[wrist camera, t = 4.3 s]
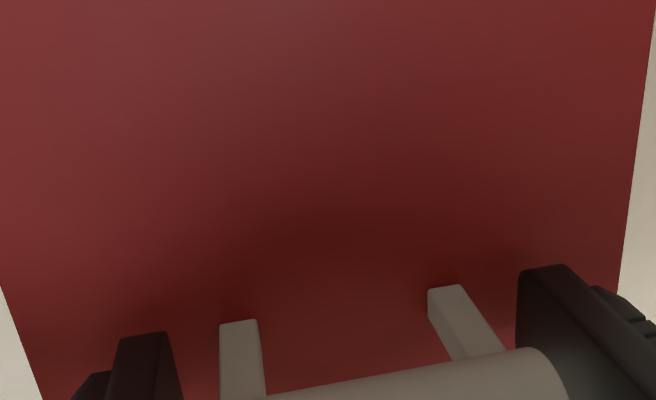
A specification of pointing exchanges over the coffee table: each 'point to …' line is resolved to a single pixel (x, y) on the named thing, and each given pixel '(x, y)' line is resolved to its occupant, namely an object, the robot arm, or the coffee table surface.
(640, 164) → the coffee table surface
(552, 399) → the box lid
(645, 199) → the coffee table surface
